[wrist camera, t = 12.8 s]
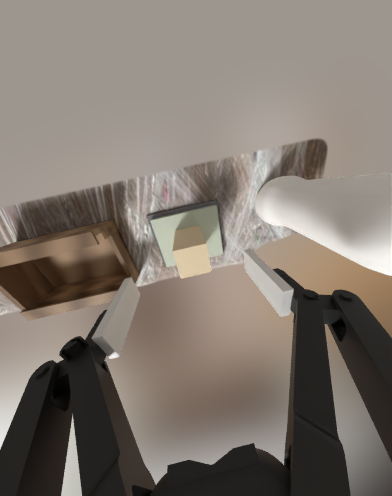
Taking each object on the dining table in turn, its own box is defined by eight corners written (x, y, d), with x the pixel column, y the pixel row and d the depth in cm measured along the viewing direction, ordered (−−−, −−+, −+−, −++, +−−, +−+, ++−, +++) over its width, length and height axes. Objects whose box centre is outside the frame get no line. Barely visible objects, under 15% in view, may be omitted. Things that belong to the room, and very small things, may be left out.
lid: (167, 264, 29) (161, 298, 21) (151, 219, 25) (135, 238, 17) (221, 252, 29) (238, 280, 21) (215, 204, 25) (233, 216, 17)
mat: (165, 265, 30) (164, 266, 30) (146, 215, 25) (146, 216, 25) (223, 251, 30) (224, 252, 30) (216, 199, 25) (217, 199, 25)
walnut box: (59, 292, 30) (28, 320, 24) (16, 241, 25) (-39, 261, 19) (139, 274, 30) (128, 297, 24) (113, 219, 25) (90, 231, 19)
